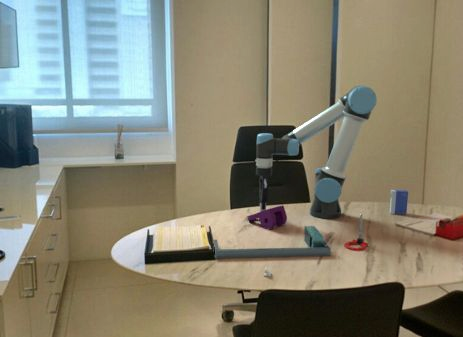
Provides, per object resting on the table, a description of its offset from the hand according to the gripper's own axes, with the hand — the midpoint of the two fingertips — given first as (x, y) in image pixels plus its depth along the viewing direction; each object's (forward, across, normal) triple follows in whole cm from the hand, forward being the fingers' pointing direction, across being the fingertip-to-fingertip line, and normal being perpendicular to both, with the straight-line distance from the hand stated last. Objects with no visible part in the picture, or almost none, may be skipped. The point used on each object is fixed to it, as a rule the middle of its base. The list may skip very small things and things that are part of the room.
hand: (262, 215), depth 230 cm
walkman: (+2, -6, +69) cm, 69 cm away
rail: (+1, +38, -4) cm, 38 cm away
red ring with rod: (+2, +41, +32) cm, 51 cm away
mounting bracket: (+2, +9, 0) cm, 9 cm away
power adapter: (+2, +68, -7) cm, 68 cm away
